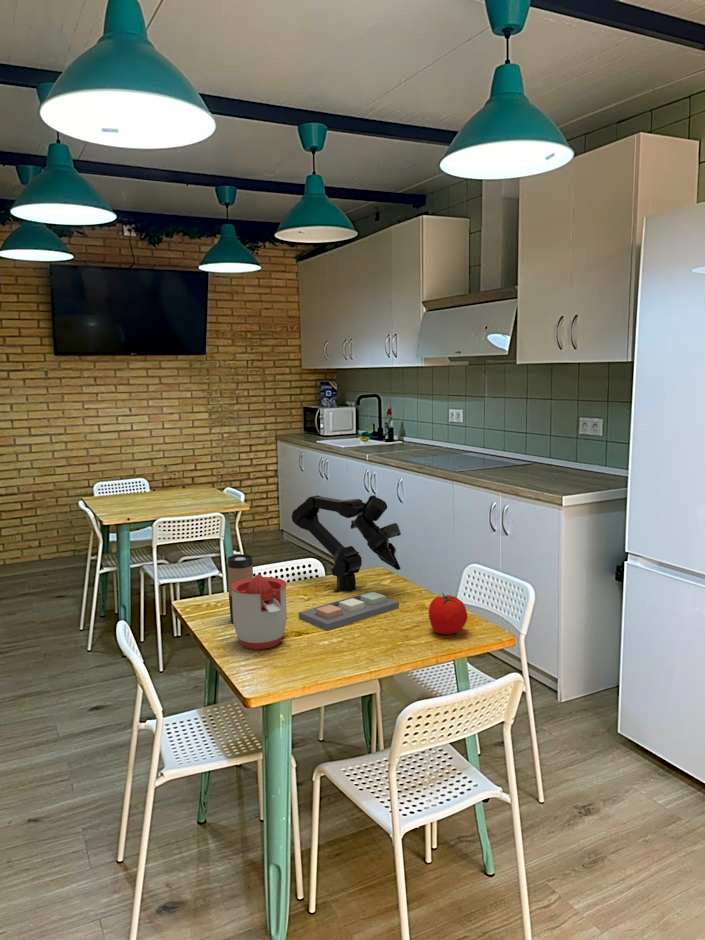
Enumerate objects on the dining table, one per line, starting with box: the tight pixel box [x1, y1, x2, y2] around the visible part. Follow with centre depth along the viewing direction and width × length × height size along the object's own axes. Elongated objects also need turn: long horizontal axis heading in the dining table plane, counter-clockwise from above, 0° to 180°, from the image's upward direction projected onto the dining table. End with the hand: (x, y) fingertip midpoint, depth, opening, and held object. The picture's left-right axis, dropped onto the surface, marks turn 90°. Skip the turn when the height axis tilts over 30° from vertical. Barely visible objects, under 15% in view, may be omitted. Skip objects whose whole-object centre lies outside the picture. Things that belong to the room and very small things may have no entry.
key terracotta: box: [316, 605, 342, 620], centre depth 213 cm, size 6×6×2 cm
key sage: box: [361, 591, 387, 606], centre depth 225 cm, size 6×6×2 cm
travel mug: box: [227, 553, 254, 625], centre depth 217 cm, size 8×8×20 cm
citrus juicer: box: [231, 573, 288, 651], centre depth 198 cm, size 16×17×20 cm
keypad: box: [298, 591, 400, 632], centre depth 220 cm, size 14×29×3 cm, turn 131°
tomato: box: [428, 591, 468, 635], centre depth 205 cm, size 12×12×11 cm
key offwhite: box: [339, 598, 364, 613], centre depth 219 cm, size 6×6×2 cm
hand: (396, 566), depth 228 cm, fingers open, 9 cm apart
